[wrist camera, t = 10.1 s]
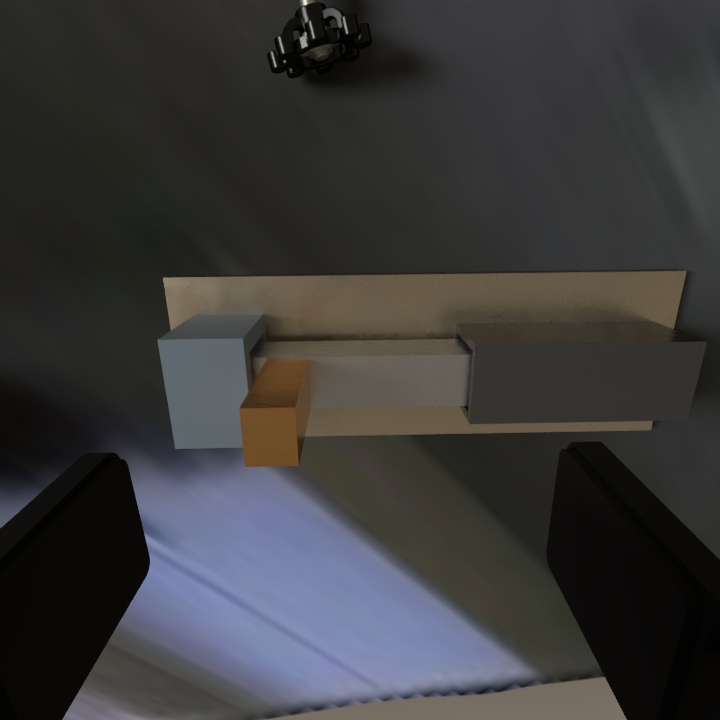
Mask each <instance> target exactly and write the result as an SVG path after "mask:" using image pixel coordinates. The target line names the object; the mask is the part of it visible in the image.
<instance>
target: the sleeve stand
mask: <svg viewBox="0 0 720 720" xmlns="http://www.w3.org/2000/svg"><path fill="white" fill-rule="evenodd" d="M686 272H687V271H684V270H679V269H663V270H585V271H507V272H429V273H351V274H273V275H195V276H166V277H163V281H164V288H165V294H166V301H167V307H168V314H169V320H170V327H171V330H173V329H174V328H176V327H177V326H179V325H180V324H182V323H183V322H185V321H186V320H188V319H189V318H191V317H192V316H194V315H247V314H263V317H264V329H265V342H287V341H354V340H420V339H463V340H464V341H465V342H466V344H467V345H468V346H469V347H470V348H471V349H472V351H473V354H472V367H471V380H470V394H469V406H431V407H372V408H314V409H310V414H309V418H308V423H307V428H306V433H305V436H353V435H409V434H464V433H520V432H575V431H631V430H651V428H652V423H653V421H681V420H688V417H689V413H690V409H691V405H692V401H693V397H694V393H695V389H696V385H697V381H698V377H699V373H700V369H701V365H702V361H703V357H704V353H705V349H706V345H707V341H705V340H702V339H699V338H696V337H694V336H691V335H688V334H686V333H683V332H680V331H677V330H675V329H674V326H675V321H676V317H677V312H678V308H679V303H680V299H681V295H682V290H683V286H684V281H685V277H686Z"/></svg>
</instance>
